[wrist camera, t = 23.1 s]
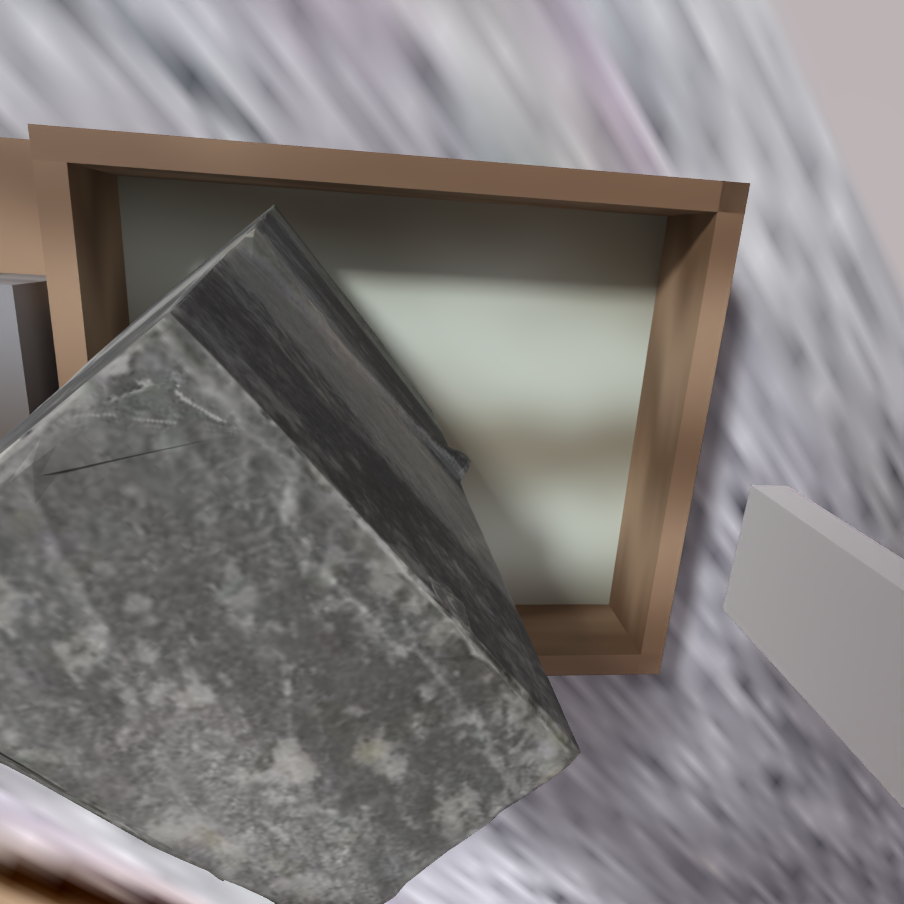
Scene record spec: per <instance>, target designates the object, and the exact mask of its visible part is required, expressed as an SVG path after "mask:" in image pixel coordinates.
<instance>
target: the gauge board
mask: <svg viewBox="0 0 904 904" xmlns="http://www.w3.org/2000/svg"><path fill="white" fill-rule="evenodd" d="M28 130H29V138H30V140H26V139H13V138H1V137H0V441H1V440H2V439H3V438H4V437H5V436H6V435H7V434H8V433H10V432H11V431H12V430H13V429H14V428H15V427H16V426H17V425H19V424H20V423H21V422H22V421H23V420H24V419H26V418H27V417H28V416H29V415H30V414H32V413H33V412H34V411H35V410H36V409H37V408H38V407H39V406H40V405H41V404H43V403H44V402H45V401H46V400H47V399H48V398H50V397H51V396H52V395H53V394H54V393H55V392H57V391H58V390H59V389H60V388H61V387H62V386H63V385H64V384H66V383H67V382H68V381H69V380H70V379H71V378H72V377H73V376H74V375H75V374H76V373H77V372H78V371H79V370H80V369H81V368H82V367H83V366H84V365H85V364H86V363H87V362H89V361H90V360H91V359H92V358H93V357H94V356H95V355H96V354H97V353H99V352H100V351H101V350H102V349H103V348H104V347H105V346H107V345H108V344H109V343H110V342H111V341H112V340H113V339H115V338H116V337H117V336H118V335H119V334H120V333H121V332H123V331H124V330H125V329H126V328H127V327H128V326H130V325H131V324H132V323H133V322H134V321H135V320H136V319H137V318H138V317H139V316H141V315H142V314H143V313H144V312H145V311H146V310H148V309H149V308H150V307H151V306H152V305H153V304H154V303H155V302H156V301H158V300H159V299H160V298H161V297H162V296H164V295H165V294H166V293H167V292H168V291H170V290H171V289H172V288H173V287H174V286H176V285H177V284H178V283H179V282H180V281H182V280H183V279H184V278H185V277H187V276H188V275H189V274H190V273H192V272H193V271H194V270H195V269H196V268H198V267H199V266H200V265H201V264H202V263H204V262H205V261H206V260H207V259H209V258H210V257H211V256H212V255H213V254H215V253H216V252H217V251H218V250H219V249H221V248H222V247H223V246H224V245H225V244H227V243H228V242H229V241H230V240H231V239H233V238H234V237H235V236H236V235H237V234H239V233H240V232H241V231H242V230H244V229H245V228H246V227H247V226H249V225H250V224H251V223H252V222H253V221H255V220H256V219H257V218H258V217H260V216H261V215H262V214H263V213H265V212H266V211H267V210H268V209H270V208H271V207H272V206H273V205H275V206H276V207H277V209H278V210H279V211H280V212H281V214H282V215H283V216H284V218H285V219H286V220H287V221H288V223H289V224H290V225H291V227H292V228H293V229H294V231H295V232H296V233H297V234H298V236H299V237H300V238H301V240H302V241H303V242H304V243H305V245H306V246H307V247H308V249H309V250H310V251H311V252H312V254H313V255H314V256H315V258H316V259H317V260H318V262H319V263H320V264H321V265H322V267H323V268H324V269H325V270H326V272H327V273H328V274H329V276H330V277H331V278H332V279H333V281H334V282H335V283H336V284H337V286H338V287H339V288H340V289H341V291H342V292H343V293H344V294H345V296H346V297H347V298H348V300H349V301H350V302H351V303H352V305H353V306H354V307H355V308H356V310H357V311H358V312H359V314H360V315H361V316H362V317H363V319H364V320H365V321H366V323H367V324H368V325H369V326H370V328H371V329H372V330H373V332H374V333H375V334H376V336H377V337H378V338H379V340H380V341H381V342H382V344H383V345H384V346H385V348H386V349H387V351H388V352H389V353H390V355H391V356H392V357H393V359H394V360H395V362H396V363H397V364H398V366H399V367H400V369H401V370H402V371H403V373H404V374H405V375H406V377H407V378H408V379H409V381H410V382H411V383H412V385H413V386H414V387H415V389H416V390H417V391H418V393H419V394H420V395H421V397H422V398H423V399H424V401H425V402H426V403H427V405H428V406H429V407H430V409H431V410H432V412H433V414H434V416H435V419H436V421H437V424H438V425H439V427H440V429H441V431H442V434H443V436H444V438H445V440H446V442H447V444H448V446H449V447H450V448H452V449H457V450H461V451H462V452H463V453H465V454H466V455H467V456H468V457H469V459H470V460H471V464H470V466H469V469H468V471H467V473H466V474H465V475H464V476H463V478H462V480H461V482H460V483H461V485H462V488H463V490H464V493H465V495H466V497H467V500H468V502H469V504H470V506H471V509H472V511H473V513H474V515H475V518H476V520H477V522H478V524H479V526H480V529H481V531H482V533H483V535H484V538H485V540H486V542H487V544H488V547H489V549H490V551H491V554H492V556H493V558H494V560H495V562H496V564H497V567H498V569H499V571H500V573H501V575H502V577H503V580H504V582H505V584H506V587H507V589H508V591H509V594H510V596H511V599H512V601H513V603H514V606H515V608H516V610H517V612H518V614H519V616H520V618H521V620H522V622H523V625H524V627H525V629H526V631H527V634H528V636H529V638H530V640H531V643H532V645H533V647H534V649H535V652H536V654H537V656H538V659H539V661H540V663H541V665H542V667H543V669H544V671H545V674H546V676H556V675H620V674H659V673H660V667H661V662H662V657H663V651H664V646H665V640H666V635H667V630H668V624H669V619H670V613H671V608H672V603H673V597H674V592H675V586H676V581H677V576H678V570H679V565H680V559H681V554H682V549H683V543H684V538H685V532H686V527H687V522H688V516H689V511H690V505H691V500H692V495H693V489H694V484H695V478H696V473H697V468H698V462H699V457H700V451H701V446H702V441H703V435H704V430H705V424H706V419H707V413H708V408H709V403H710V397H711V392H712V386H713V381H714V376H715V370H716V365H717V359H718V354H719V349H720V343H721V338H722V332H723V327H724V322H725V316H726V311H727V305H728V300H729V295H730V289H731V284H732V278H733V273H734V268H735V262H736V257H737V251H738V246H739V241H740V235H741V230H742V224H743V219H744V214H745V208H746V203H747V197H748V192H749V187H750V183H739V182H727V181H715V180H703V179H691V178H678V177H666V176H654V175H642V174H630V173H618V172H606V171H594V170H581V169H569V168H557V167H545V166H533V165H521V164H509V163H496V162H484V161H472V160H460V159H448V158H436V157H424V156H412V155H399V154H387V153H375V152H363V151H351V150H339V149H327V148H314V147H302V146H290V145H278V144H266V143H254V142H242V141H229V140H217V139H205V138H193V137H181V136H169V135H157V134H145V133H132V132H120V131H108V130H96V129H84V128H72V127H60V126H47V125H35V124H28Z"/></svg>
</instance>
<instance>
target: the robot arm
mask: <svg viewBox="0 0 904 904" xmlns="http://www.w3.org/2000/svg"><path fill="white" fill-rule="evenodd" d="M723 610H724V611H725V612H726V613H727V614H728V615H729V617H730V618H731V619H732V620H733V621H734V622H735V623H736V624H737V625H738V627H739V628H740V629H741V630H742V631H743V632H744V633H745V634H746V635H747V636H748V638H749V639H750V640H751V641H752V642H753V643H754V644H755V645H756V646H757V647H758V649H759V650H760V651H761V652H762V653H763V654H764V655H765V656H766V657H767V659H768V660H769V661H770V662H771V663H772V664H773V665H774V666H775V667H776V668H777V670H778V671H779V672H780V673H781V674H782V675H783V676H784V677H785V678H786V680H787V681H788V682H789V683H790V684H791V685H792V686H793V687H794V688H795V689H796V691H797V692H798V693H799V694H800V695H801V696H802V697H803V698H804V699H805V700H806V702H807V703H808V704H809V705H810V706H811V707H812V708H813V709H814V710H815V712H816V713H817V714H818V715H819V716H820V717H821V718H822V719H823V720H824V721H825V723H826V724H827V725H828V726H829V727H830V728H831V729H832V730H833V731H834V733H835V734H836V735H837V736H838V737H839V738H840V739H841V740H842V741H843V742H844V744H845V745H846V746H847V747H848V748H849V749H850V750H851V751H852V752H853V753H854V755H855V756H856V757H857V758H858V759H859V760H860V761H861V762H862V763H863V765H864V766H865V767H866V768H867V769H868V770H869V771H870V772H871V773H872V774H873V776H874V777H875V778H876V779H877V780H878V781H879V782H880V783H881V784H882V786H883V787H884V788H885V789H886V790H887V791H888V792H889V793H890V794H891V795H892V797H893V798H894V799H895V800H896V801H897V802H898V803H899V804H900V805H901V806H902V808H903V809H904V559H903V558H901V557H900V556H898V555H896V554H895V553H893V552H892V551H890V550H889V549H887V548H885V547H884V546H882V545H881V544H879V543H878V542H876V541H874V540H873V539H871V538H870V537H868V536H866V535H865V534H863V533H862V532H860V531H859V530H857V529H855V528H854V527H852V526H851V525H849V524H847V523H846V522H844V521H843V520H841V519H840V518H838V517H836V516H835V515H833V514H832V513H830V512H829V511H827V510H825V509H824V508H822V507H821V506H819V505H817V504H816V503H814V502H813V501H811V500H810V499H808V498H806V497H805V496H803V495H802V494H800V493H798V492H797V491H795V490H794V489H792V488H791V487H789V486H776V485H751V487H750V492H749V496H748V500H747V505H746V509H745V513H744V518H743V522H742V526H741V531H740V535H739V539H738V544H737V548H736V552H735V557H734V561H733V566H732V570H731V574H730V579H729V583H728V587H727V592H726V596H725V600H724V605H723Z"/></svg>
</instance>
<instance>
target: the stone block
mask: <svg viewBox="0 0 904 904" xmlns="http://www.w3.org/2000/svg"><path fill="white" fill-rule="evenodd" d="M470 464H471V460H470V459H469V457H468V456H467V455H466V454H465V453H463V452H462V451H461V450H457V449H452V448H450V447H449V446H448V444H447V442H446V440H445V438H444V436H443V434H442V431H441V429H440V427H439V425H438V424H437V421H436V419H435V416H434V414H433V412H432V410H431V409H430V407H429V406H428V405H427V403H426V402H425V401H424V399H423V398H422V397H421V395H420V394H419V393H418V391H417V390H416V389H415V387H414V386H413V385H412V383H411V382H410V381H409V379H408V378H407V377H406V375H405V374H404V373H403V371H402V370H401V369H400V367H399V366H398V364H397V363H396V362H395V360H394V359H393V357H392V356H391V355H390V353H389V352H388V351H387V349H386V348H385V346H384V345H383V344H382V342H381V341H380V340H379V338H378V337H377V336H376V334H375V333H374V332H373V330H372V329H371V328H370V326H369V325H368V324H367V323H366V321H365V320H364V319H363V317H362V316H361V315H360V314H359V312H358V311H357V310H356V308H355V307H354V306H353V305H352V303H351V302H350V301H349V300H348V298H347V297H346V296H345V294H344V293H343V292H342V291H341V289H340V288H339V287H338V286H337V284H336V283H335V282H334V281H333V279H332V278H331V277H330V276H329V274H328V273H327V272H326V270H325V269H324V268H323V267H322V265H321V264H320V263H319V262H318V260H317V259H316V258H315V256H314V255H313V254H312V252H311V251H310V250H309V249H308V247H307V246H306V245H305V243H304V242H303V241H302V240H301V238H300V237H299V236H298V234H297V233H296V232H295V231H294V229H293V228H292V227H291V225H290V224H289V223H288V221H287V220H286V219H285V218H284V216H283V215H282V214H281V212H280V211H279V210H278V209H277V207H276V206H275V205H273V206H272V207H271V208H270V209H268V210H267V211H266V212H265V213H263V214H262V215H261V216H260V217H258V218H257V219H256V220H255V221H253V222H252V223H251V224H250V225H249V226H247V227H246V228H245V229H244V230H242V231H241V232H240V233H239V234H237V235H236V236H235V237H234V238H233V239H231V240H230V241H229V242H228V243H227V244H225V245H224V246H223V247H222V248H221V249H219V250H218V251H217V252H216V253H215V254H213V255H212V256H211V257H210V258H209V259H207V260H206V261H205V262H204V263H202V264H201V265H200V266H199V267H198V268H196V269H195V270H194V271H193V272H192V273H190V274H189V275H188V276H187V277H185V278H184V279H183V280H182V281H180V282H179V283H178V284H177V285H176V286H174V287H173V288H172V289H171V290H170V291H168V292H167V293H166V294H165V295H164V296H162V297H161V298H160V299H159V300H158V301H156V302H155V303H154V304H153V305H152V306H151V307H150V308H149V309H148V310H146V311H145V312H144V313H143V314H142V315H141V316H139V317H138V318H137V319H136V320H135V321H134V322H133V323H132V324H131V325H130V326H128V327H127V328H126V329H125V330H124V331H123V332H121V333H120V334H119V335H118V336H117V337H116V338H115V339H113V340H112V341H111V342H110V343H109V344H108V345H107V346H105V347H104V348H103V349H102V350H101V351H100V352H99V353H97V354H96V355H95V356H94V357H93V358H92V359H91V360H90V361H89V362H87V363H86V364H85V365H84V366H83V367H82V368H81V369H80V370H79V371H78V372H77V373H76V374H75V375H74V376H73V377H72V378H71V379H70V380H69V381H68V382H67V383H66V384H64V385H63V386H62V387H61V388H60V389H59V390H58V391H57V392H55V393H54V394H53V395H52V396H51V397H50V398H48V399H47V400H46V401H45V402H44V403H43V404H41V405H40V406H39V407H38V408H37V409H36V410H35V411H34V412H33V413H32V414H30V415H29V416H28V417H27V418H26V419H24V420H23V421H22V422H21V423H20V424H19V425H17V426H16V427H15V428H14V429H13V430H12V431H11V432H10V433H8V434H7V435H6V436H5V437H4V438H3V439H2V440H1V441H0V763H2V764H5V765H7V766H9V767H10V768H12V769H14V770H16V771H18V772H20V773H22V774H24V775H26V776H28V777H30V778H32V779H33V780H35V781H37V782H39V783H40V784H42V785H44V786H46V787H48V788H49V789H51V790H53V791H55V792H56V793H58V794H60V795H62V796H64V797H65V798H67V799H69V800H71V801H72V802H74V803H76V804H78V805H80V806H81V807H83V808H85V809H87V810H89V811H90V812H92V813H94V814H96V815H97V816H99V817H101V818H103V819H105V820H106V821H108V822H110V823H112V824H113V825H115V826H117V827H119V828H121V829H122V830H124V831H126V832H128V833H129V834H131V835H133V836H135V837H137V838H138V839H140V840H142V841H144V842H145V843H147V844H149V845H151V846H153V847H155V848H157V849H159V850H161V851H164V852H166V853H168V854H170V855H172V856H175V857H177V858H179V859H181V860H184V861H186V862H188V863H190V864H193V865H195V866H198V867H200V868H202V869H205V870H207V871H209V872H210V873H212V874H213V875H214V876H216V877H217V878H218V879H220V880H222V881H224V880H226V881H229V882H231V883H234V884H236V885H239V886H242V887H244V888H246V889H248V890H250V891H252V892H255V893H257V894H259V895H261V896H263V897H265V898H267V899H269V900H270V901H272V902H274V903H275V904H384V903H386V902H387V901H389V900H390V899H392V898H393V897H395V896H396V895H397V893H398V892H399V891H400V890H401V889H402V887H403V886H404V885H405V884H406V883H407V882H408V881H410V880H411V879H412V878H413V877H415V876H416V875H417V874H419V873H420V872H421V871H422V870H424V869H425V868H426V867H428V866H429V865H430V864H431V863H433V862H434V861H435V860H437V859H438V858H439V857H441V856H442V855H443V854H445V853H446V852H447V851H448V850H450V849H452V848H453V847H455V846H456V845H458V844H459V843H461V842H462V841H464V840H465V839H466V838H468V837H469V836H471V835H472V834H474V833H475V832H477V831H478V830H479V829H481V828H482V827H484V826H485V825H487V824H488V823H489V822H490V821H491V820H492V819H494V818H495V817H496V816H497V815H498V814H499V813H500V812H501V811H503V810H504V809H506V808H507V807H509V806H510V805H512V804H514V803H515V802H517V801H518V800H520V799H521V798H523V797H524V796H526V795H527V794H529V793H530V792H532V791H534V790H535V789H537V788H538V787H540V786H541V785H543V784H544V783H546V782H547V781H548V780H550V779H551V778H552V777H554V776H555V775H557V774H558V773H559V772H561V771H562V770H563V769H564V768H566V767H567V766H568V765H570V763H571V762H572V761H573V760H574V759H575V758H576V757H577V755H578V754H579V753H580V750H579V747H578V745H577V743H576V741H575V738H574V736H573V734H572V732H571V729H570V727H569V725H568V723H567V720H566V718H565V716H564V713H563V711H562V709H561V707H560V704H559V702H558V700H557V698H556V695H555V693H554V691H553V689H552V687H551V684H550V682H549V680H548V678H547V676H546V674H545V671H544V669H543V667H542V665H541V663H540V661H539V659H538V656H537V654H536V652H535V649H534V647H533V645H532V643H531V640H530V638H529V636H528V634H527V631H526V629H525V627H524V625H523V622H522V620H521V618H520V616H519V614H518V612H517V610H516V608H515V606H514V603H513V601H512V599H511V596H510V594H509V591H508V589H507V587H506V584H505V582H504V580H503V577H502V575H501V573H500V571H499V569H498V567H497V564H496V562H495V560H494V558H493V556H492V554H491V551H490V549H489V547H488V544H487V542H486V540H485V538H484V535H483V533H482V531H481V529H480V526H479V524H478V522H477V520H476V518H475V515H474V513H473V511H472V509H471V506H470V504H469V502H468V500H467V497H466V495H465V493H464V490H463V488H462V485H461V483H460V482H461V480H462V478H463V476H464V475H465V474H466V473H467V471H468V469H469V466H470Z"/></svg>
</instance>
